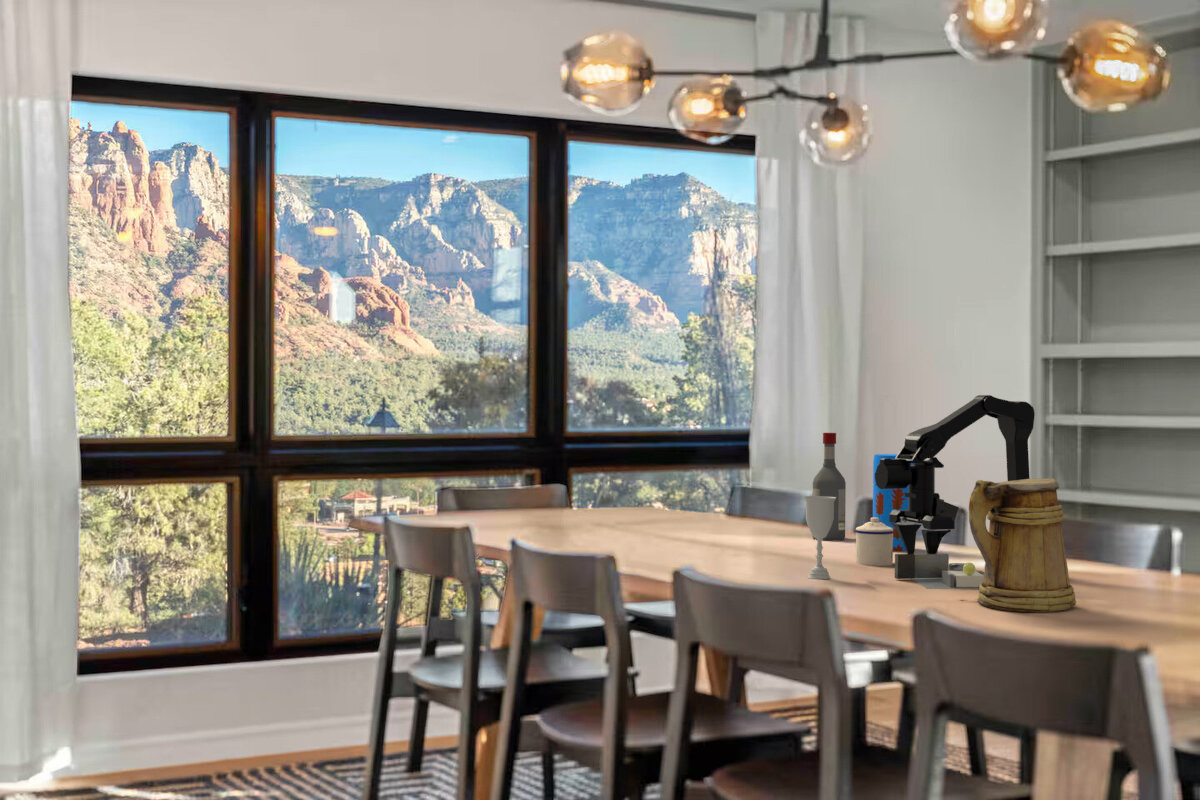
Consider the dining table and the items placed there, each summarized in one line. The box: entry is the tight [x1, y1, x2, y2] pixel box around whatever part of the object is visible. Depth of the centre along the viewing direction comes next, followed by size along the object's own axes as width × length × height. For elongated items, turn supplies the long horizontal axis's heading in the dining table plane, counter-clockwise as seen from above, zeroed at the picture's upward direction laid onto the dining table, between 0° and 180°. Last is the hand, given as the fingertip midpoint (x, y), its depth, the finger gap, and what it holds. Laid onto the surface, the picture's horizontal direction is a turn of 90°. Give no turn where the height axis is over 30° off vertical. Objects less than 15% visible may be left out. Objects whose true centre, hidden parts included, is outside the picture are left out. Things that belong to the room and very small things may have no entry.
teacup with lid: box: [854, 517, 894, 567], centre depth 337 cm, size 12×9×12 cm
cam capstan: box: [894, 552, 983, 580], centre depth 306 cm, size 9×18×5 cm, turn 102°
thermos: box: [872, 453, 915, 552], centre depth 373 cm, size 11×11×25 cm
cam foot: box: [947, 562, 984, 587], centre depth 299 cm, size 6×8×5 cm
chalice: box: [803, 495, 836, 580], centre depth 315 cm, size 7×7×18 cm
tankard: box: [968, 478, 1077, 613], centre depth 274 cm, size 18×24×25 cm
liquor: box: [812, 432, 847, 541], centre depth 398 cm, size 9×9×30 cm
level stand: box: [911, 570, 984, 590], centre depth 306 cm, size 22×26×4 cm
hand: (921, 558), depth 314 cm, fingers open, 8 cm apart
